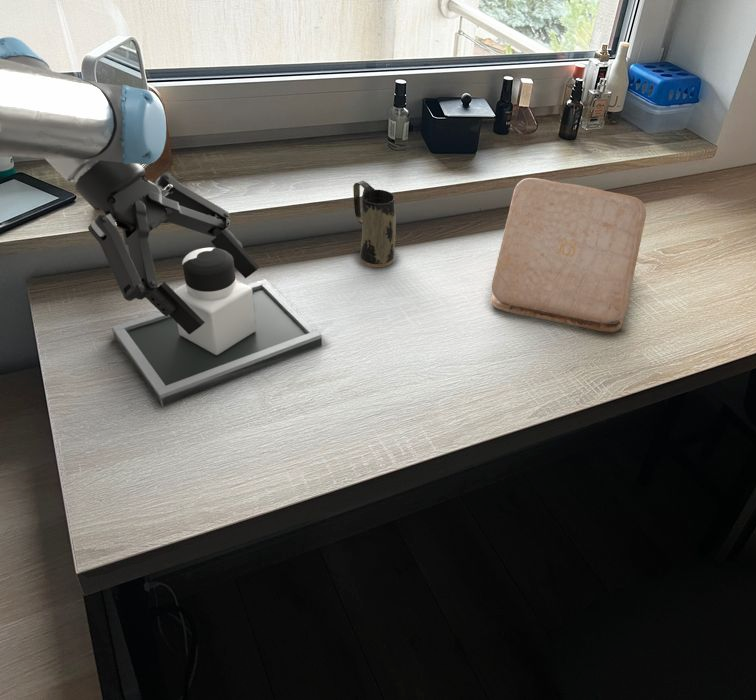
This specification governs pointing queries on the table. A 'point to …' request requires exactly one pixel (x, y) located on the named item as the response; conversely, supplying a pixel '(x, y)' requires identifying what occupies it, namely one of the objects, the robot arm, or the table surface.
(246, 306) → the medicine bottle
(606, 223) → the case
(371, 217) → the mug
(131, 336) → the chalkboard
